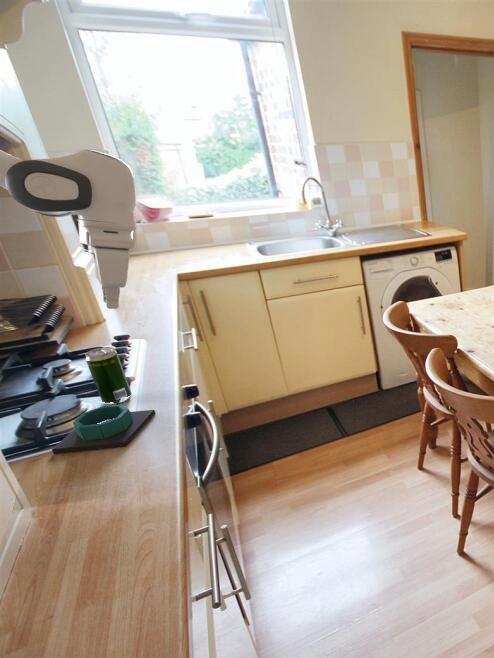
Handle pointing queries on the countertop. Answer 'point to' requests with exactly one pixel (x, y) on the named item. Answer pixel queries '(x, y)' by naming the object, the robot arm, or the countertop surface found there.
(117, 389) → the beer can
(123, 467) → the countertop surface
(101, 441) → the can pad
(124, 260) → the robot arm
